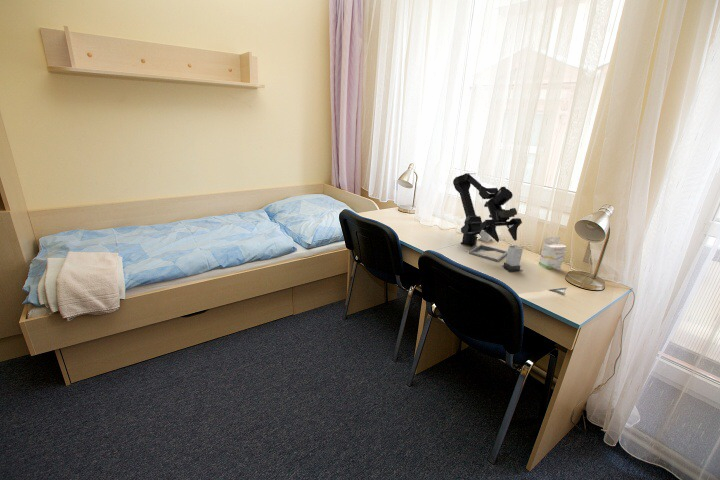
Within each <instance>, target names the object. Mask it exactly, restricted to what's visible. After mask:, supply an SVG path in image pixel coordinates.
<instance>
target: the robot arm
mask: <svg viewBox="0 0 720 480" xmlns="http://www.w3.org/2000/svg"><path fill="white" fill-rule="evenodd" d="M452 182H453V187H454V189H455V190H456V192H458V194H459V196H460V200H461V204H462V207H463V211H464V214H465V219H464V221H463V223H464V225H463V226H462V227H460V232H461V234H463V235H462V241H461V242H460V244H461V245H463V246H467V247H471V248H473V247H475V246H477V242H478V240H477V238H478V237H477V236H478V234H480V232H481V230H484V232H486V233H488V234H489V235H490V236H491V237H492V238H491V239H493V240H494V241H496V242H497V243H499V242H500V239H499V234H498V233H497V229H496V228H497V227H503V226H505V227H507V231H508V233H509V234H510V236H511V238H512V239H513V241H515V242H516V241H517V240H518V228H519V226H521V225H522V224H523V221H522V219H521V218H519V217H517V218H516V217H515V216H516V215H518V211H517V208H516V207H512V208H509V209H504V208H502V207H503V206H504V205H505V204H506V203H507V202H509V201H510V200H511V199H513V192H511V190H510V189H508V188H507V187H506V186H500V188H499V189H498V187H496V186H494V185H493V184H488V183H486V182H485V180H483V179H482V178H481V177H479V176H478V175H477V174H476V173H475V172H465V173H464V174H461V175H458V176H455V178H454V179H453V180H452ZM471 185H472V186H473V187H474V188H475V189H476V190H477V191H478V195H479V196H480V197H481V199H482V200H487V201H485V203H484V205H483V207H484V208H487V209H488V212H489V215H488V217H489V218H491V219H484V221H482V217H481V216H480V215H477V214H476V211H475V207H474V204H473V201H472V197H471V193H470V188H471ZM510 218H511V219H510ZM508 220H509V221H508Z"/></svg>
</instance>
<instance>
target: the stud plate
mask: <svg viewBox="0 0 720 480" xmlns="http://www.w3.org/2000/svg"><path fill="white" fill-rule="evenodd" d="M503 265H504V264H503ZM503 265H500V268H502V269H503V270H506V271H507V272H508V273H517V272H518V273H519V272H524V270H523V269H521V268H520V270H516V271H509V270H508V269H506V268H505V267H503Z"/></svg>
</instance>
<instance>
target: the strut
mask: <svg viewBox="0 0 720 480" xmlns="http://www.w3.org/2000/svg"><path fill="white" fill-rule="evenodd" d="M507 251H508V253H507V255H506V259H505V262H503V267H505V268H506V269H508V270H509V271H516V270H520V269H521V265H520V263H521V260H522V255H523V251H524V248H523V247H521V246H519V245H516V244H515V245H508V248H507Z"/></svg>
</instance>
